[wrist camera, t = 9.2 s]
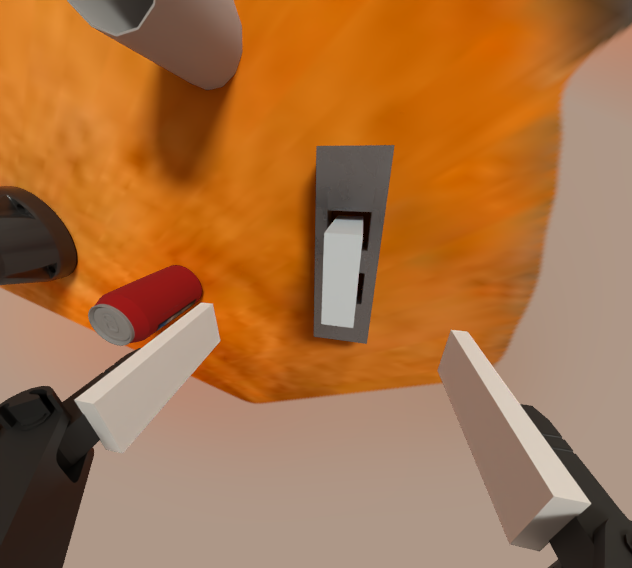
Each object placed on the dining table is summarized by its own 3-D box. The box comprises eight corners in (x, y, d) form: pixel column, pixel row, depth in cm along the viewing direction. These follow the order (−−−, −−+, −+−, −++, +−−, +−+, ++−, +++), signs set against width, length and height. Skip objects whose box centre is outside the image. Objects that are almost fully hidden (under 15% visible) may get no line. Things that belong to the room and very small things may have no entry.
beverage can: (171, 297, 38) (94, 343, 27) (163, 259, 35) (73, 294, 24) (207, 305, 37) (143, 355, 26) (202, 267, 34) (127, 306, 23)
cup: (224, 107, 25) (144, 64, 16) (158, 59, 24) (36, -14, 15) (255, 10, 21) (175, -117, 12) (178, -49, 20) (32, -233, 11)
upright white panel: (356, 282, 30) (353, 328, 21) (334, 280, 31) (321, 324, 21) (363, 216, 26) (362, 235, 17) (337, 215, 27) (324, 233, 18)
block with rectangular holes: (319, 320, 34) (313, 336, 30) (323, 151, 24) (316, 146, 21) (366, 325, 32) (366, 343, 29) (389, 151, 23) (394, 145, 20)
